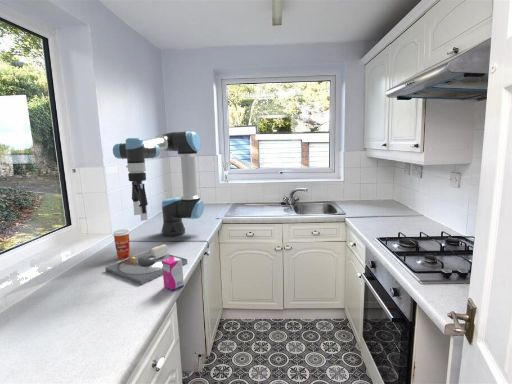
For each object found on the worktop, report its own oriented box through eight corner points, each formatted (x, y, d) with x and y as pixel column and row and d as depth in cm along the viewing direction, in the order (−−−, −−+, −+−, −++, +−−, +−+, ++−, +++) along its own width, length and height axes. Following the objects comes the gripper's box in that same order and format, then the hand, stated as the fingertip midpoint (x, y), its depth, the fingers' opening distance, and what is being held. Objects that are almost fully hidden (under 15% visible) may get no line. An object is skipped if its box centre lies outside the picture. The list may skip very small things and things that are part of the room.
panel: (152, 253, 157) (152, 248, 157) (187, 263, 143) (187, 258, 143) (105, 271, 136) (105, 266, 136) (141, 284, 122) (140, 279, 121)
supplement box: (175, 281, 124) (173, 255, 122) (184, 285, 120) (182, 259, 118) (163, 287, 119) (161, 260, 118) (172, 291, 116) (170, 263, 114)
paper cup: (114, 260, 149) (111, 234, 146) (117, 255, 156) (114, 229, 154) (130, 258, 151) (128, 232, 148) (132, 253, 158) (130, 228, 156)
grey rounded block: (145, 266, 134) (144, 255, 133) (134, 263, 138) (133, 252, 137) (171, 256, 146) (170, 245, 145) (160, 253, 150) (159, 242, 150)
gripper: (122, 171, 144) (126, 213, 147) (134, 174, 123) (138, 224, 126) (139, 170, 148) (142, 211, 151) (152, 173, 127) (156, 221, 131)
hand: (140, 217), depth 139 cm, fingers open, 13 cm apart
